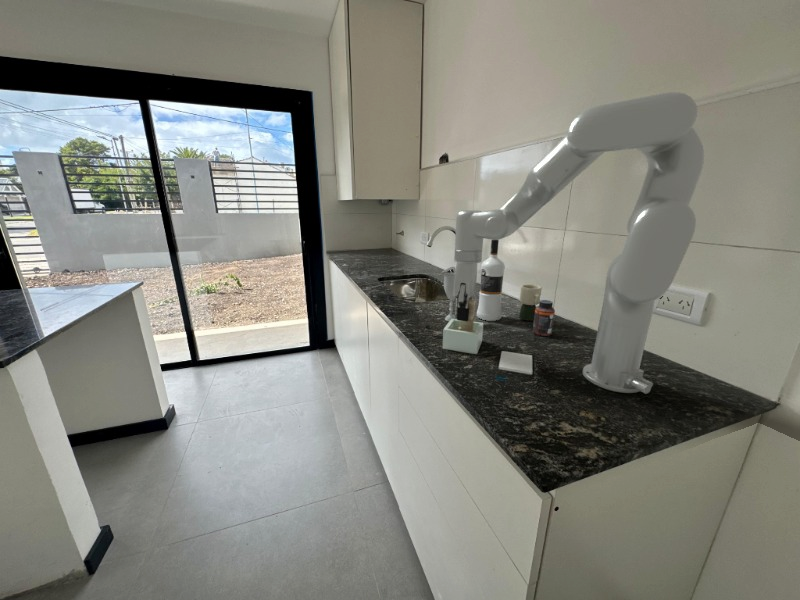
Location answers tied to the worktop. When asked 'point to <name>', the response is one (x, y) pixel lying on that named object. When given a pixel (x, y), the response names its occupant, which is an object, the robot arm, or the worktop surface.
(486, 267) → the vodka
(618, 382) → the robot arm
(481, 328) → the holder
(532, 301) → the character mug
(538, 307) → the supplement bottle
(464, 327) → the wooden block with tab
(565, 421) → the worktop surface
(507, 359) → the tile
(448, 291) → the chalice
